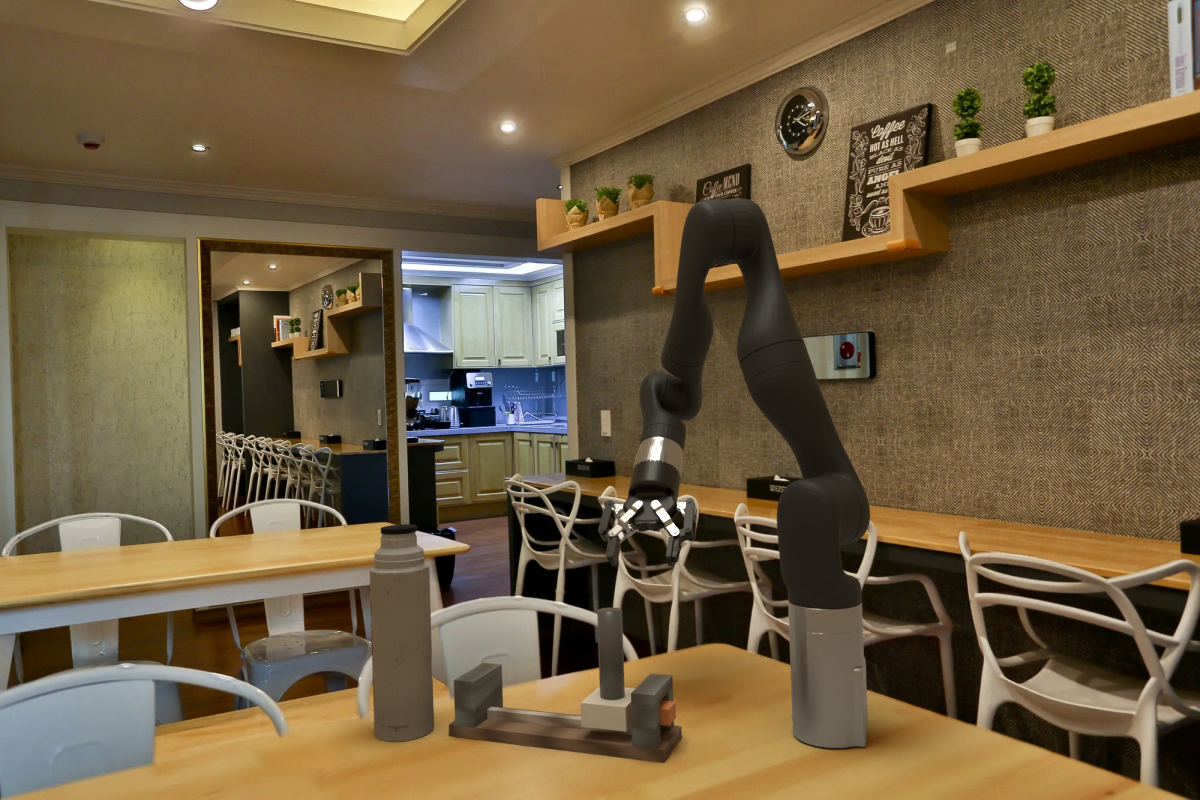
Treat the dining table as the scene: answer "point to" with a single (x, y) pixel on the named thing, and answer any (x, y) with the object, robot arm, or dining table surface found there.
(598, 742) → the rail board
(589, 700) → the carriage
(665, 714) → the reset pin
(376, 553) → the thermos bottle
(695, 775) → the dining table surface
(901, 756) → the dining table surface
